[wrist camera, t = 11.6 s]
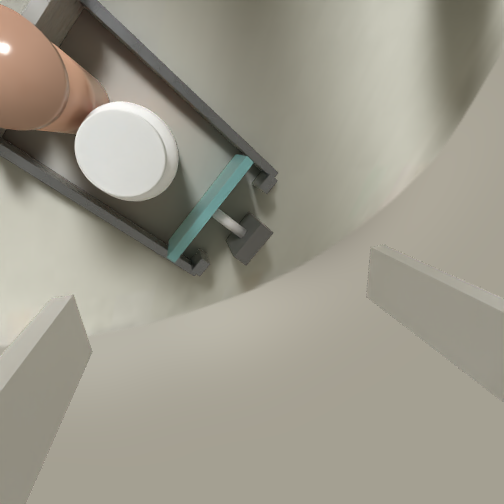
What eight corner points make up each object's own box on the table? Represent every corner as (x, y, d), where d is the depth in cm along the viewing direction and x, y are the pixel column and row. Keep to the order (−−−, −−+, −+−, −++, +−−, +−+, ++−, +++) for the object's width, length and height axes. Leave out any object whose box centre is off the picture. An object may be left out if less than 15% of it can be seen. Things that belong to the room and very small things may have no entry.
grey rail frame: (-16, 138, 22) (-54, 136, 19) (79, -12, 20) (58, -46, 17) (193, 270, 30) (195, 286, 27) (273, 171, 29) (287, 175, 25)
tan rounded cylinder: (26, 104, 22) (-96, 71, 12) (62, 48, 21) (-36, -34, 12) (89, 149, 24) (29, 152, 14) (124, 100, 24) (85, 67, 14)
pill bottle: (156, 199, 27) (143, 231, 17) (92, 159, 24) (33, 169, 14) (191, 145, 26) (199, 144, 16) (128, 97, 24) (92, 62, 14)
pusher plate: (168, 240, 29) (167, 257, 24) (235, 154, 27) (246, 155, 23) (216, 271, 31) (223, 293, 27) (279, 194, 30) (298, 203, 25)
